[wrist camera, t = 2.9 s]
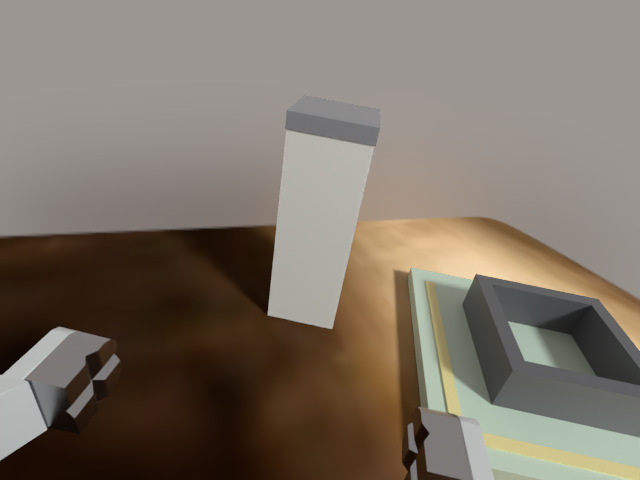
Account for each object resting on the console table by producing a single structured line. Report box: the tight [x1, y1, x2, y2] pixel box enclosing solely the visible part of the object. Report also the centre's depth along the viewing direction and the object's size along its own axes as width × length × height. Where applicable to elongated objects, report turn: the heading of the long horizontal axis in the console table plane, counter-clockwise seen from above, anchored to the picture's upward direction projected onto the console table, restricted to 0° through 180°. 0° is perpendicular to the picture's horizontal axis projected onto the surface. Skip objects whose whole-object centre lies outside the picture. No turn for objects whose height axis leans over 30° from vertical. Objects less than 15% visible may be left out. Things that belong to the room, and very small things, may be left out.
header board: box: [408, 267, 640, 480], centre depth 21 cm, size 14×14×4 cm
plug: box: [268, 96, 380, 329], centre depth 21 cm, size 4×5×12 cm
